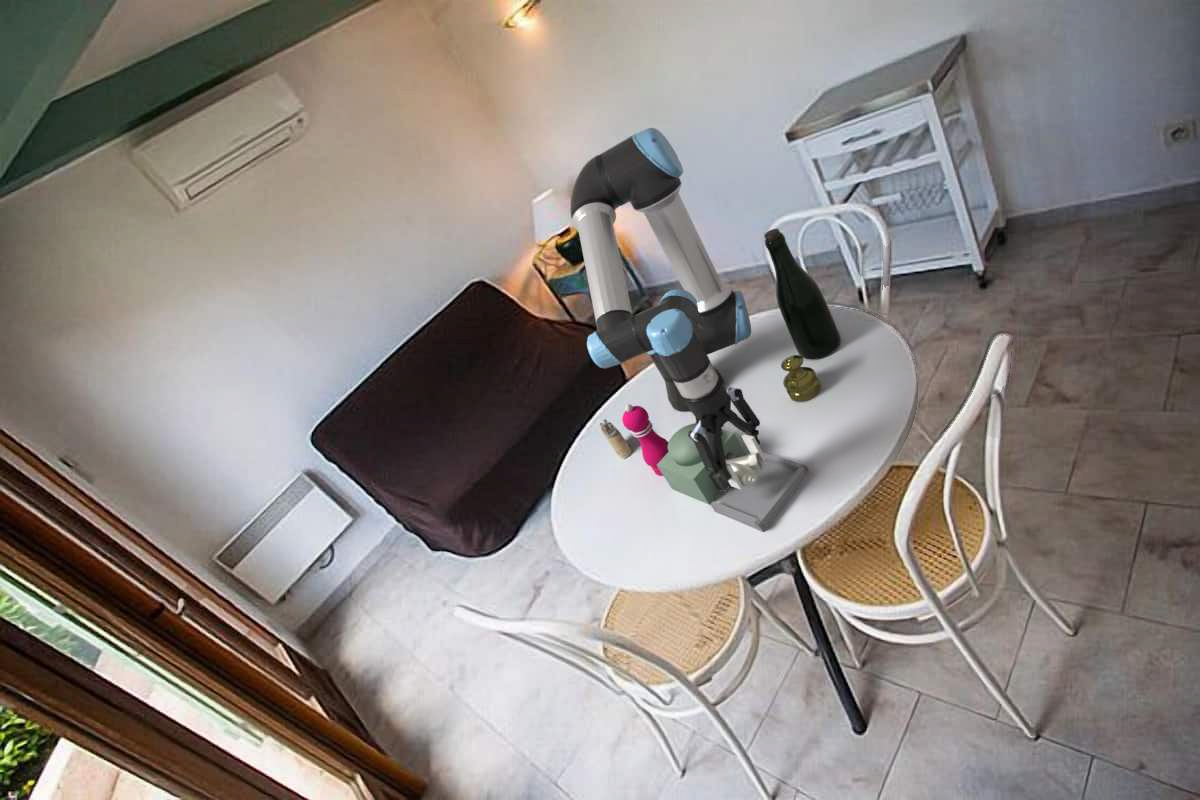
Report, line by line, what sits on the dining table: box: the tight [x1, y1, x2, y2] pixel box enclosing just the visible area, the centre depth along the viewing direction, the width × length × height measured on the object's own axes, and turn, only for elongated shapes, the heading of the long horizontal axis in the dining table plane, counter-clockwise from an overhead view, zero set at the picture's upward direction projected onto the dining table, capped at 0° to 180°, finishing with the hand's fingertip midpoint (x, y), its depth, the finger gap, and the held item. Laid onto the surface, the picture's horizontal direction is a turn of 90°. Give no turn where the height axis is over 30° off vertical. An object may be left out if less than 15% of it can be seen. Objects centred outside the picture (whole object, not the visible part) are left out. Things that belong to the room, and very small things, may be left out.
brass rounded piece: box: [780, 354, 822, 403], centre depth 145 cm, size 7×7×10 cm
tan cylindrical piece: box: [599, 418, 633, 459], centre depth 164 cm, size 7×4×10 cm, turn 21°
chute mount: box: [710, 452, 811, 533], centre depth 130 cm, size 13×16×2 cm
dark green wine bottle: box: [764, 228, 842, 360], centre depth 149 cm, size 10×10×33 cm
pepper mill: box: [621, 403, 669, 477], centre depth 148 cm, size 7×7×20 cm
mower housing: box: [657, 421, 748, 506], centre depth 139 cm, size 14×14×11 cm
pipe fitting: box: [725, 452, 762, 486], centre depth 127 cm, size 8×4×7 cm
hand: (748, 472), depth 128 cm, fingers closed on pipe fitting, 7 cm apart
